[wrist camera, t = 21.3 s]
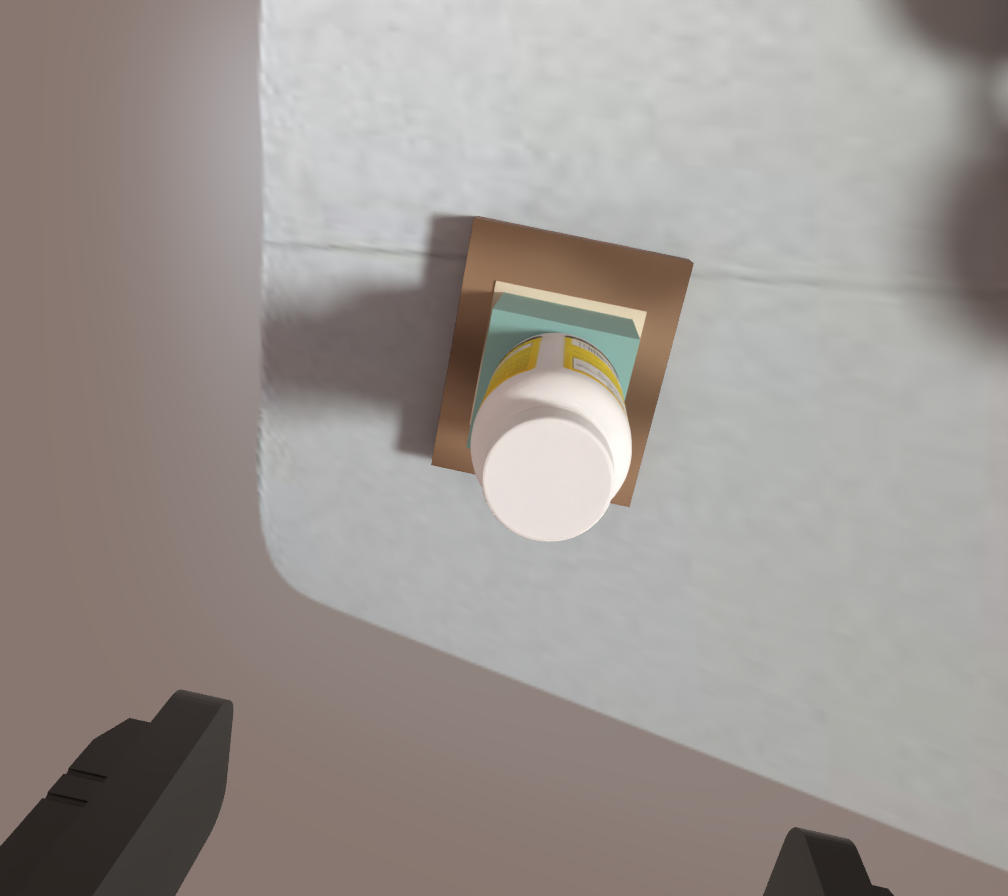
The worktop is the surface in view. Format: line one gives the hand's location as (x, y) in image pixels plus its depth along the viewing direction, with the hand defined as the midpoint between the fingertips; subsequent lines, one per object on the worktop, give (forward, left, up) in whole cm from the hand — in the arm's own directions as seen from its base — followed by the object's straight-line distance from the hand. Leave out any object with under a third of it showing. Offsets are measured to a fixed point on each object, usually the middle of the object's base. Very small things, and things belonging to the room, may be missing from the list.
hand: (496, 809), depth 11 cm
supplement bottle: (0, 0, -23) cm, 23 cm away
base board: (0, 0, -30) cm, 30 cm away
